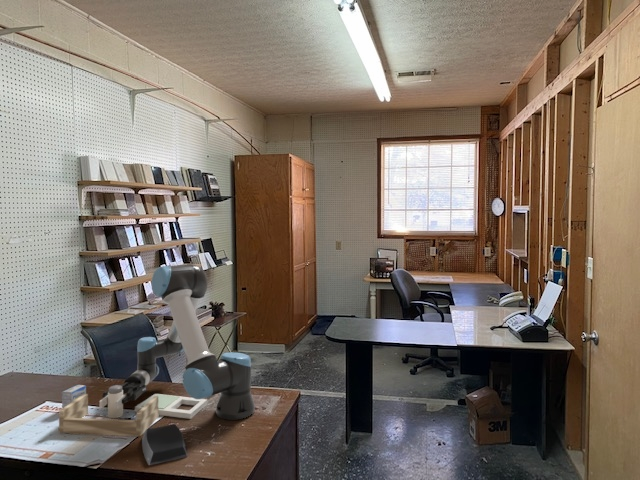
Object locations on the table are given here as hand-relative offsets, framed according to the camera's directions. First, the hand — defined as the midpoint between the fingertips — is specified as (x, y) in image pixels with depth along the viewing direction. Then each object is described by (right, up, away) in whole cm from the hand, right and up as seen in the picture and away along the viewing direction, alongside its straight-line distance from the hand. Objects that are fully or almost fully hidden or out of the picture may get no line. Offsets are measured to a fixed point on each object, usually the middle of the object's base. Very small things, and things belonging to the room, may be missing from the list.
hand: (108, 405), depth 160 cm
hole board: (+17, -8, +17) cm, 26 cm away
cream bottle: (0, -6, +5) cm, 8 cm away
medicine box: (-20, -7, +14) cm, 26 cm away
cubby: (0, -8, +2) cm, 8 cm away
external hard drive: (+25, -10, -13) cm, 30 cm away
